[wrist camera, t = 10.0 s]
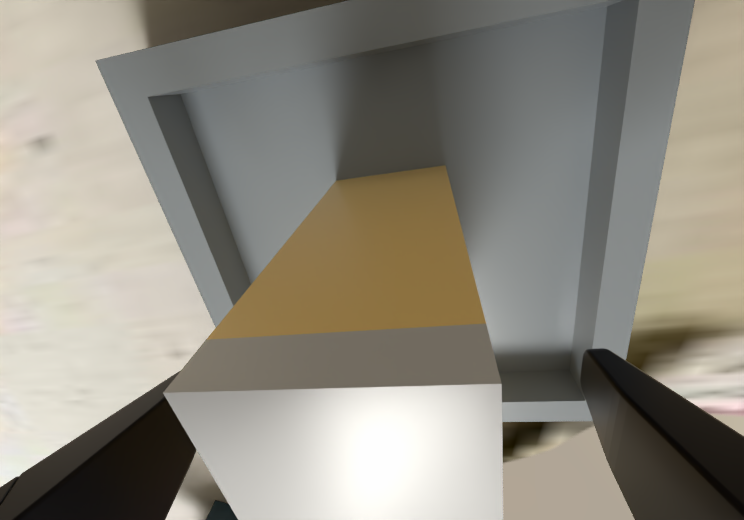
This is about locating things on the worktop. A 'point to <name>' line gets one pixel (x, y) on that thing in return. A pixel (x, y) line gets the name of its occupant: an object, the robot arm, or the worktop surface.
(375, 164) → the parts tray
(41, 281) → the worktop surface
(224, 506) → the watch
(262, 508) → the tan rectangular block
